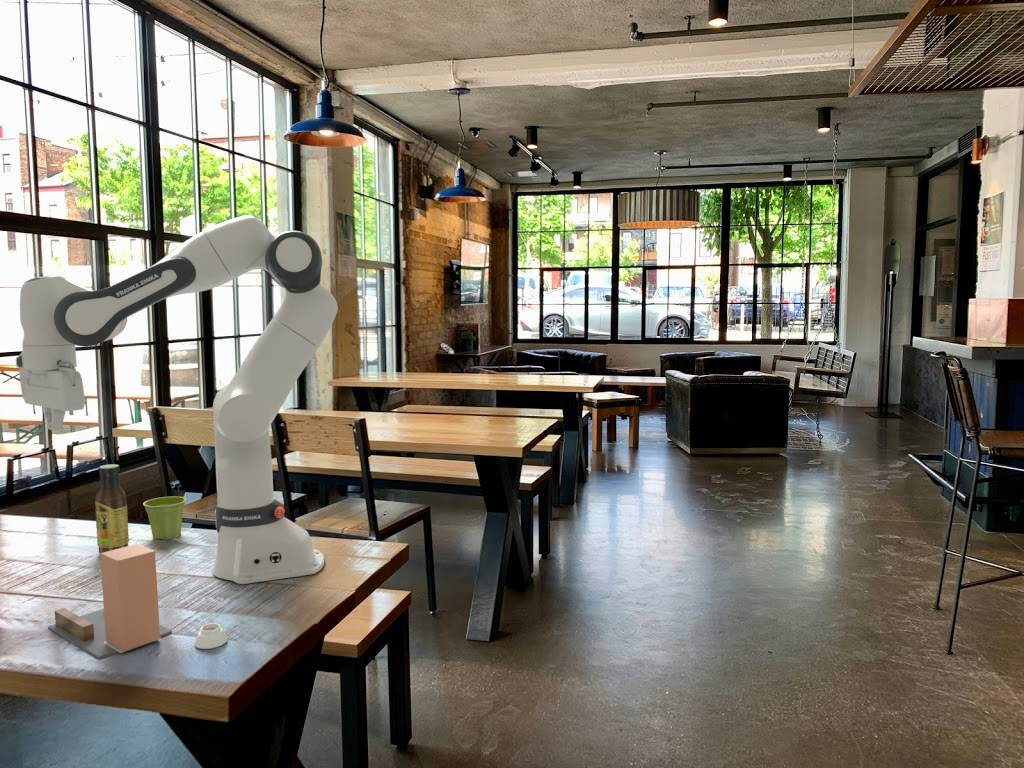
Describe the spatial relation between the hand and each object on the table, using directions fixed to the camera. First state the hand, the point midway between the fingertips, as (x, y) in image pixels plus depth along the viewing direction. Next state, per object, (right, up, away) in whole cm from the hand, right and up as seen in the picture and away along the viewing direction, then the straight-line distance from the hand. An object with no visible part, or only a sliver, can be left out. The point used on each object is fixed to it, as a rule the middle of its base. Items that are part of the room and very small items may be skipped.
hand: (55, 429), depth 152 cm
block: (+27, -34, -24) cm, 50 cm away
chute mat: (+21, -33, -20) cm, 44 cm away
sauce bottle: (0, -29, +22) cm, 36 cm away
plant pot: (+7, -28, +33) cm, 44 cm away
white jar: (+40, -34, -24) cm, 58 cm away
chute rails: (+18, -33, -17) cm, 41 cm away
